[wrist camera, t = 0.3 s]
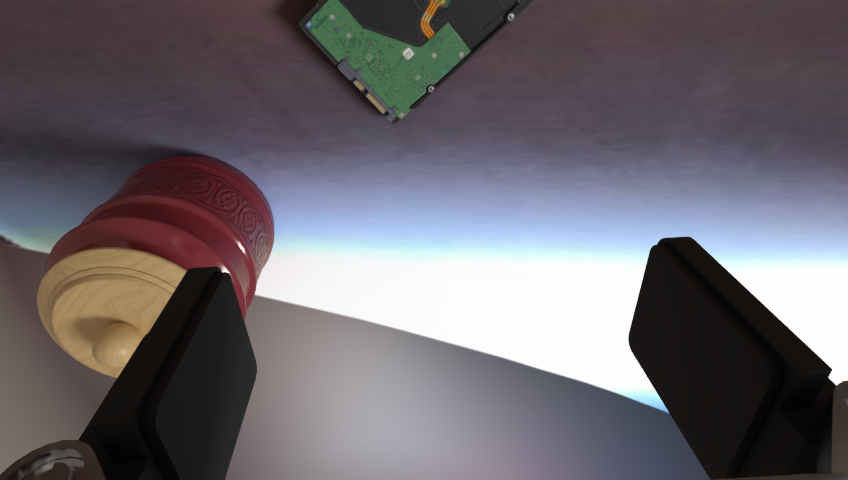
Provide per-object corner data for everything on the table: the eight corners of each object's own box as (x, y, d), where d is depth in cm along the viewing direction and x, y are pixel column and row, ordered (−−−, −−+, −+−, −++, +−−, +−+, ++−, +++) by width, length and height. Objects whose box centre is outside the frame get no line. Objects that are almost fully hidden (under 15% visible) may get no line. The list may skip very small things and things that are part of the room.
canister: (212, 122, 39) (102, 230, 24) (306, 240, 45) (265, 384, 30) (93, 195, 42) (-74, 334, 26) (197, 296, 48) (110, 456, 33)
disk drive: (449, -145, 32) (300, 21, 36) (454, -153, 29) (294, 25, 34) (538, -14, 36) (395, 120, 40) (549, -12, 34) (396, 130, 38)
